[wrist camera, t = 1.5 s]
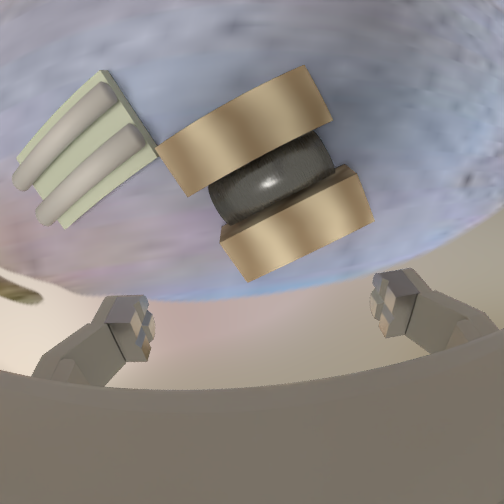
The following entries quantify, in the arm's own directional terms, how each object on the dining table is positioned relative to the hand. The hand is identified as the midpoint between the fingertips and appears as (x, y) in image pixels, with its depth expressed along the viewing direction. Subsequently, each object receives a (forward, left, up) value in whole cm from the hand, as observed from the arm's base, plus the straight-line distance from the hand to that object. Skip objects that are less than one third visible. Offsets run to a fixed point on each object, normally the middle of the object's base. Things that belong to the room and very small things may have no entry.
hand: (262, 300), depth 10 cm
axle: (-1, +3, -24) cm, 24 cm away
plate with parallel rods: (+16, -11, -24) cm, 31 cm away
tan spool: (-1, +3, -24) cm, 24 cm away
